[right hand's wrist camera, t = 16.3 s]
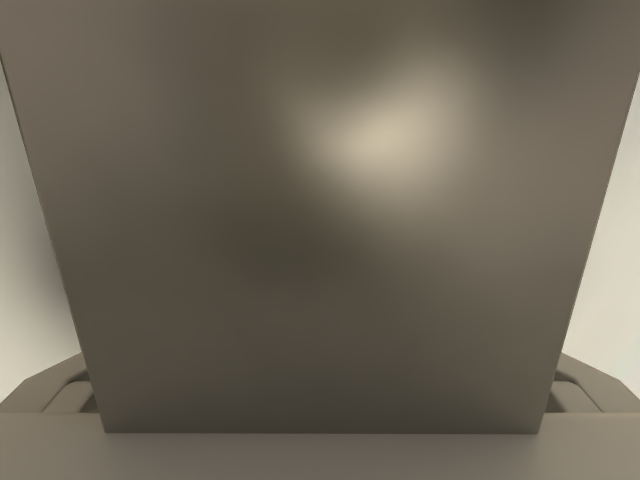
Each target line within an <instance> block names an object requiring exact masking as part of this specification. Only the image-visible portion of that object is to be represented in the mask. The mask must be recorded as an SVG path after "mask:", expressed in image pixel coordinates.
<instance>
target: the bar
mask: <svg viewBox="0 0 640 480" xmlns="http://www.w3.org/2000/svg"><path fill="white" fill-rule="evenodd" d="M0 60H1V64H2V68H3V71H4V75H5V78H6V82H7V85H8V89H9V93H10V96H11V100H12V103H13V107H14V111H15V114H16V118H17V121H18V125H19V128H20V132H21V136H22V139H23V143H24V146H25V150H26V153H27V157H28V161H29V164H30V168H31V171H32V175H33V179H34V182H35V186H36V189H37V193H38V196H39V200H40V204H41V207H42V211H43V214H44V218H45V221H46V225H47V229H48V232H49V236H50V239H51V243H52V246H53V250H54V254H55V257H56V261H57V264H58V268H59V272H60V275H61V279H62V282H63V286H64V289H65V293H66V297H67V300H68V304H69V307H70V311H71V314H72V318H73V322H74V325H75V329H76V332H77V336H78V339H79V343H80V347H81V350H82V354H83V357H84V361H85V365H86V368H87V372H88V375H89V379H90V382H91V386H92V390H93V393H94V397H95V400H96V404H97V407H98V411H99V415H100V418H101V422H102V425H103V429H104V432H105V433H227V434H538V433H539V430H540V426H541V422H542V419H543V415H544V412H545V408H546V405H547V401H548V397H549V394H550V390H551V387H552V383H553V380H554V376H555V372H556V369H557V365H558V362H559V358H560V355H561V351H562V348H563V344H564V340H565V337H566V333H567V330H568V326H569V323H570V319H571V315H572V312H573V308H574V305H575V301H576V298H577V294H578V290H579V287H580V283H581V280H582V276H583V273H584V269H585V265H586V262H587V258H588V255H589V251H590V248H591V244H592V241H593V237H594V233H595V230H596V226H597V223H598V219H599V216H600V212H601V208H602V205H603V201H604V198H605V194H606V191H607V187H608V183H609V180H610V176H611V173H612V169H613V166H614V162H615V159H616V155H617V151H618V148H619V144H620V141H621V137H622V134H623V130H624V126H625V123H626V119H627V116H628V112H629V109H630V105H631V101H632V98H633V94H634V91H635V87H636V84H637V80H638V76H639V73H640V0H0Z"/></svg>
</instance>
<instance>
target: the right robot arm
mask: <svg viewBox="0 0 640 480" xmlns="http://www.w3.org/2000/svg"><path fill="white" fill-rule="evenodd" d="M0 480H640V399H639V398H637V397H636V396H635V395H634V394H633V393H632V392H631V391H630V390H629V389H628V388H627V387H626V386H625V385H624V384H623V383H622V382H621V381H620V380H618V379H616V378H614V377H612V376H610V375H608V374H605V373H603V372H601V371H599V370H597V369H595V368H593V367H591V366H589V365H587V364H585V363H583V362H580V361H578V360H576V359H574V358H572V357H570V356H568V355H566V354H564V353H562V352H561V355H560V358H559V362H558V365H557V369H556V372H555V376H554V380H553V383H552V387H551V390H550V394H549V397H548V401H547V405H546V408H545V412H544V415H543V419H542V422H541V426H540V430H539V433H538V434H227V433H105V432H104V429H103V425H102V422H101V418H100V415H99V411H98V407H97V404H96V400H95V397H94V393H93V390H92V386H91V382H90V379H89V375H88V372H87V368H86V365H85V361H84V357H83V354H82V352H81V353H79V354H77V355H75V356H73V357H71V358H69V359H67V360H65V361H63V362H61V363H59V364H56V365H54V366H52V367H50V368H48V369H46V370H44V371H42V372H40V373H38V374H36V375H34V376H32V377H30V378H27V379H25V380H24V381H23V382H22V383H21V384H20V385H19V386H18V387H17V388H16V389H15V390H14V391H13V392H12V393H11V394H10V395H9V396H8V397H7V398H6V399H4V400H3V401H2V402H1V403H0Z"/></svg>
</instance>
